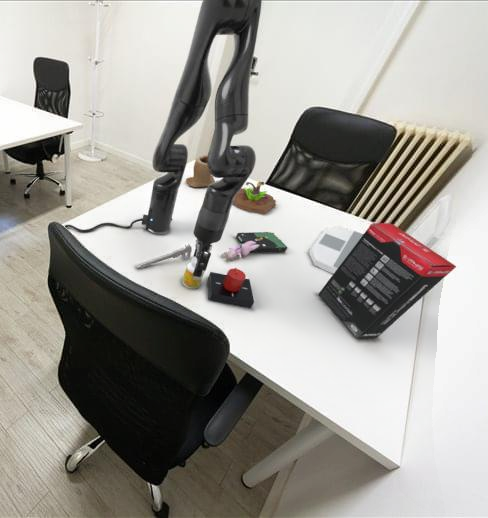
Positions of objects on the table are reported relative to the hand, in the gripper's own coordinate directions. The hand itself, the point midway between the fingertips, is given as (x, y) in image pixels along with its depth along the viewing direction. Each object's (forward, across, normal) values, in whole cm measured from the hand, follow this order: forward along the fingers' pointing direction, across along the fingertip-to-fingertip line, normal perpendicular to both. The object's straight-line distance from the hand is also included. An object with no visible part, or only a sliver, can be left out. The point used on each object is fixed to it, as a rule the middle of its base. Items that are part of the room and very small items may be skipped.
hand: (196, 267), depth 88 cm
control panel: (+7, +1, +12) cm, 14 cm away
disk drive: (+7, -30, +25) cm, 40 cm away
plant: (+7, -65, +27) cm, 71 cm away
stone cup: (+7, -77, +4) cm, 78 cm away
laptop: (+7, -32, +58) cm, 67 cm away
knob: (+4, +1, +12) cm, 12 cm away
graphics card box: (+8, +1, +44) cm, 45 cm away
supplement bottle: (+7, 0, 0) cm, 7 cm away
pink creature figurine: (+7, -21, +17) cm, 28 cm away
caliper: (+7, -8, -10) cm, 15 cm away
